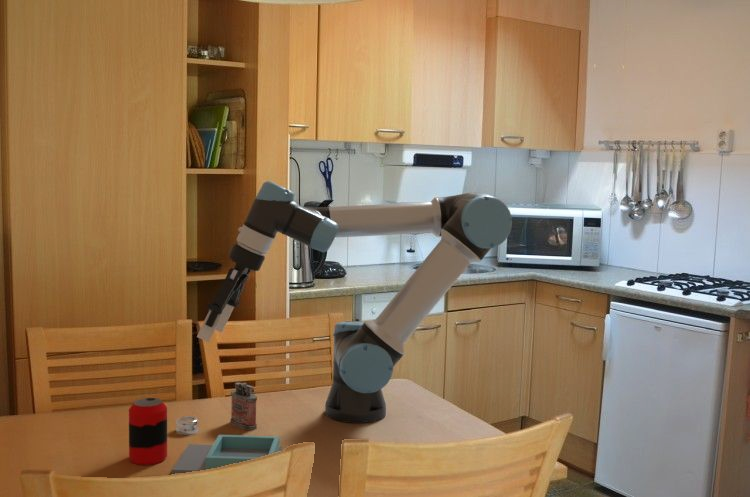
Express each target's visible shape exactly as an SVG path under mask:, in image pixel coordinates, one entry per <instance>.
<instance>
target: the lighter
mask: <svg viewBox="0 0 750 497" xmlns="http://www.w3.org/2000/svg"><path fill="white" fill-rule="evenodd" d="M234 387H235V390H231V391H230V396H231V416H230V417H231V418H230V424H232V425H233V426H235V427H237V428H240V429H244V430H247V431H255V430H256V429H257V428H258V427H257V400H258V396H257V395H255V394H253V393H255V387H254V386H252V385H250V384H247V382H235V383H234Z"/></svg>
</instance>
